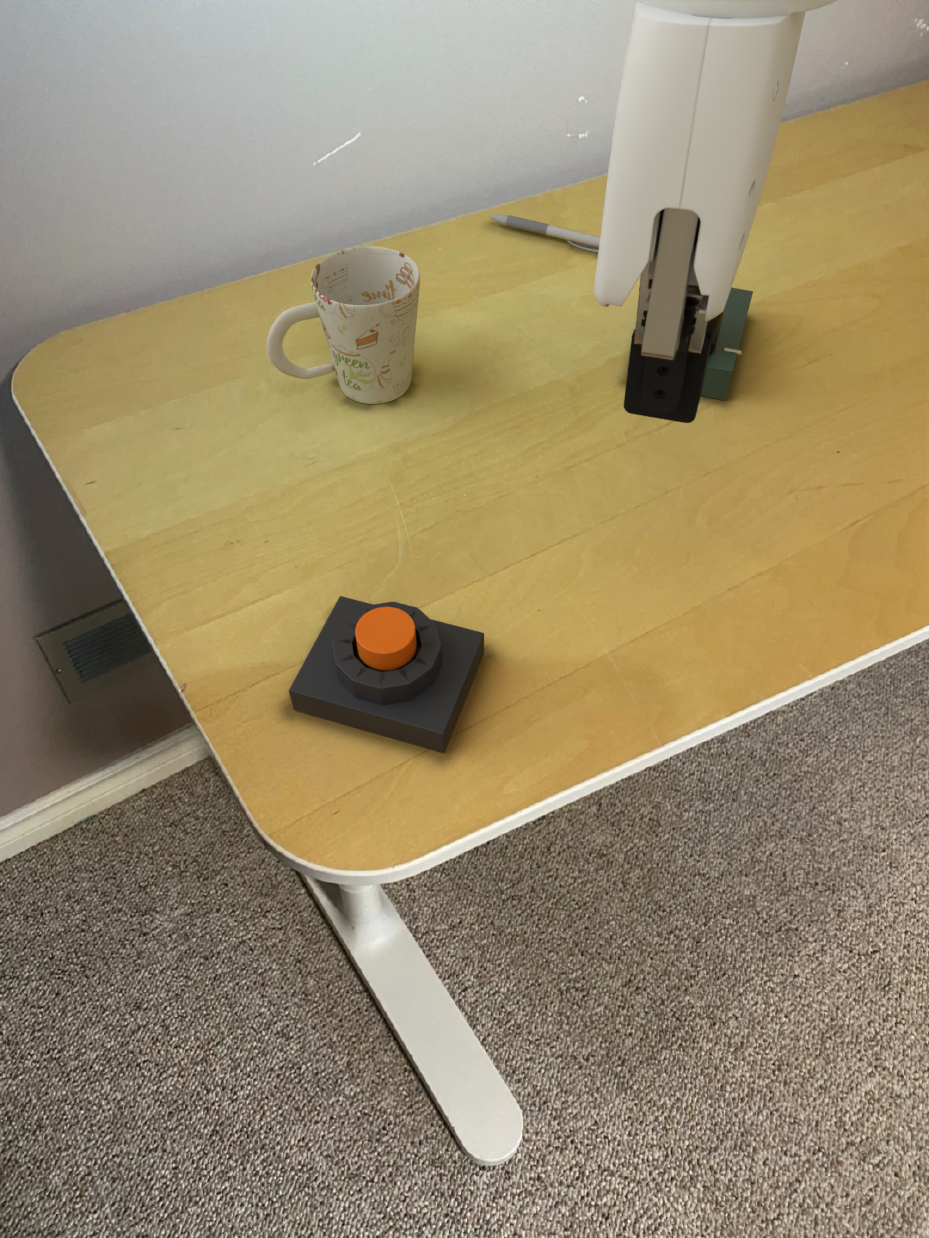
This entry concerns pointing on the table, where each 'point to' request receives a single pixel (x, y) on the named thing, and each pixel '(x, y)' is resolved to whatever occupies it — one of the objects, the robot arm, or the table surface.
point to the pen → (550, 231)
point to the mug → (359, 322)
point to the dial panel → (727, 345)
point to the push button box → (390, 678)
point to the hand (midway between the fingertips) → (661, 407)
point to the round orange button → (386, 638)
